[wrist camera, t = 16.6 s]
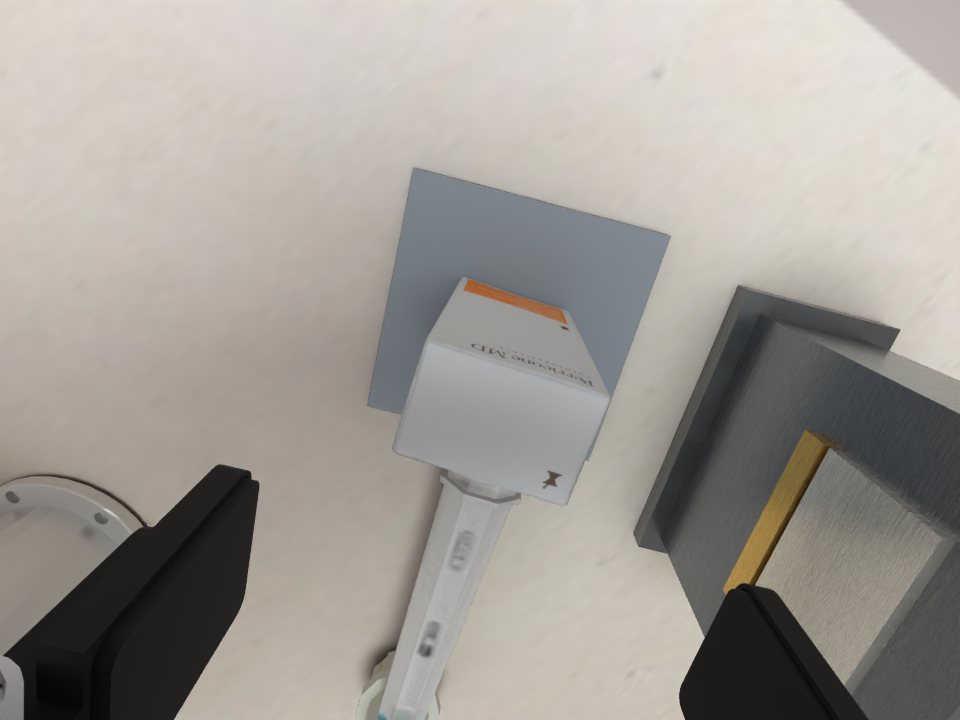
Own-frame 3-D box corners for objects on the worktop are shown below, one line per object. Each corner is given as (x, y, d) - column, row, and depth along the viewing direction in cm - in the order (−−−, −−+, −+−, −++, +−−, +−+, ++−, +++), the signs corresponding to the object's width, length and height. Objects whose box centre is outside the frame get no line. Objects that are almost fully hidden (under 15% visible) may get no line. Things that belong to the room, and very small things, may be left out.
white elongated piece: (553, 454, 25) (414, 829, 30) (539, 410, 31) (427, 724, 37) (449, 423, 24) (328, 807, 30) (457, 385, 31) (356, 706, 36)
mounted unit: (633, 533, 32) (769, 900, 15) (738, 285, 26) (1110, 442, 10) (756, 563, 32) (1016, 955, 16) (883, 323, 27) (1470, 536, 10)
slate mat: (370, 400, 30) (367, 406, 29) (416, 168, 25) (413, 167, 25) (586, 454, 30) (588, 461, 29) (666, 234, 26) (670, 236, 25)
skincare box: (571, 308, 26) (620, 399, 15) (542, 380, 28) (568, 514, 16) (459, 271, 26) (424, 336, 15) (436, 346, 27) (388, 458, 16)
